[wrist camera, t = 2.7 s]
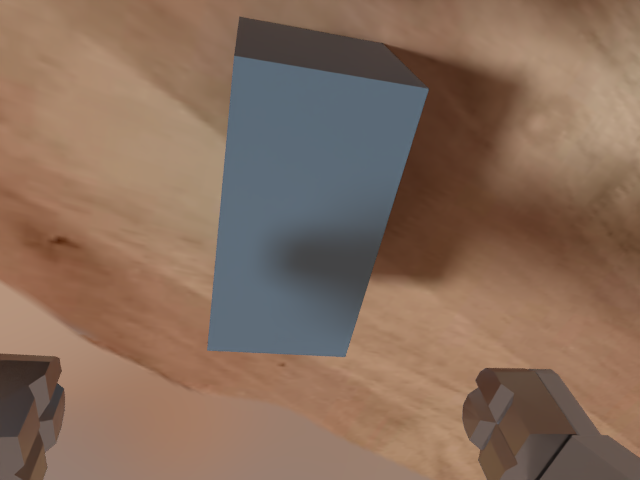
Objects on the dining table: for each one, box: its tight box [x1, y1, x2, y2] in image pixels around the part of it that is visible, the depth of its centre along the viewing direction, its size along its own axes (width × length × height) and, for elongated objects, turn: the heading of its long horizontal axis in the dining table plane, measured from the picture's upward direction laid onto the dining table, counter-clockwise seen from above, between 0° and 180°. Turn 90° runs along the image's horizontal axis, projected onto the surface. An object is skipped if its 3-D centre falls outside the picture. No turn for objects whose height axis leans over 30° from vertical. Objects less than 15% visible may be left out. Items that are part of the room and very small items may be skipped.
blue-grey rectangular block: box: [207, 17, 429, 357], centre depth 16 cm, size 4×11×5 cm, turn 169°
